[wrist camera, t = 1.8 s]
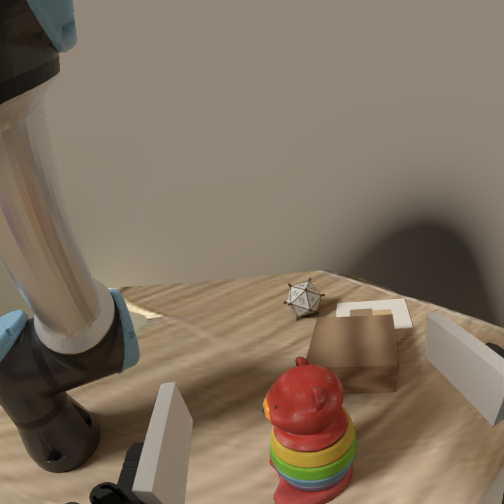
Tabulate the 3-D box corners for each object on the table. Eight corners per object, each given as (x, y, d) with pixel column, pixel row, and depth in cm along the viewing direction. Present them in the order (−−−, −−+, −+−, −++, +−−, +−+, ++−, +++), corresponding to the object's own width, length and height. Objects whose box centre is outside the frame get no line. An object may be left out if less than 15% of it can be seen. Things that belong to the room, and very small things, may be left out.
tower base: (307, 394, 45) (304, 366, 43) (319, 343, 57) (317, 317, 55) (395, 393, 40) (398, 364, 38) (391, 340, 52) (392, 314, 50)
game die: (309, 323, 71) (322, 283, 72) (321, 329, 62) (335, 283, 63) (274, 312, 70) (287, 271, 71) (281, 317, 62) (296, 270, 63)
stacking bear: (268, 449, 35) (241, 350, 30) (342, 434, 35) (340, 330, 30) (275, 515, 25) (244, 432, 19) (363, 496, 25) (380, 402, 19)
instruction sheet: (334, 333, 58) (334, 332, 58) (337, 304, 69) (337, 303, 69) (412, 327, 53) (412, 326, 53) (404, 299, 64) (404, 298, 64)
